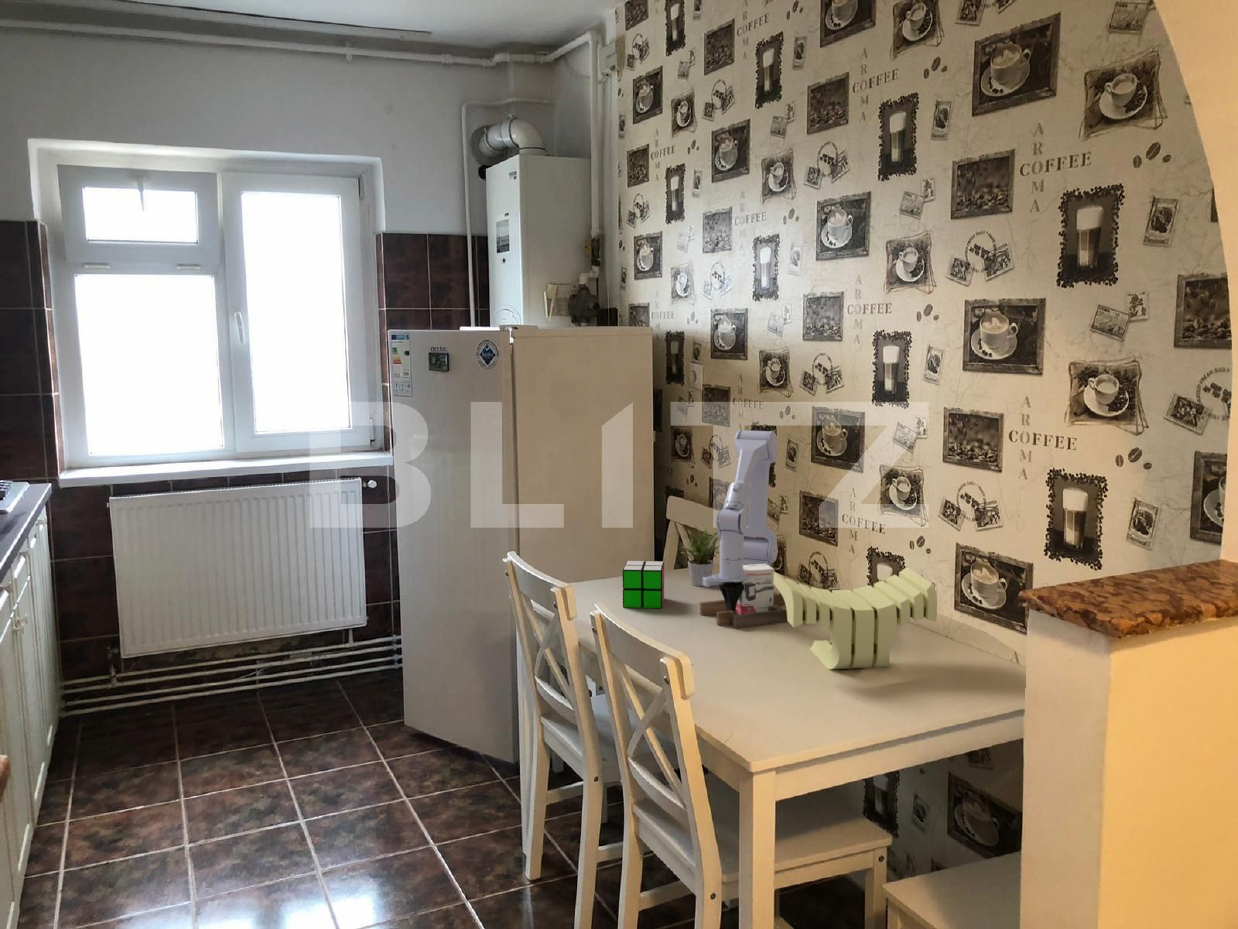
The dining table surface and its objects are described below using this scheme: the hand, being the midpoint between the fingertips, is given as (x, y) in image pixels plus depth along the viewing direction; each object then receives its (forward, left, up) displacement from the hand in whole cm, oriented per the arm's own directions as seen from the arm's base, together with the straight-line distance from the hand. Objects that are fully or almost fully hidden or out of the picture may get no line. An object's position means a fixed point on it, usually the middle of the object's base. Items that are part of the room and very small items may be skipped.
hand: (730, 612), depth 241 cm
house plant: (-31, +8, -1) cm, 32 cm away
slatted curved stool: (+37, +9, -2) cm, 39 cm away
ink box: (-1, +7, -1) cm, 7 cm away
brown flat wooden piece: (+2, +10, -1) cm, 10 cm away
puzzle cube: (-20, -15, -2) cm, 25 cm away
